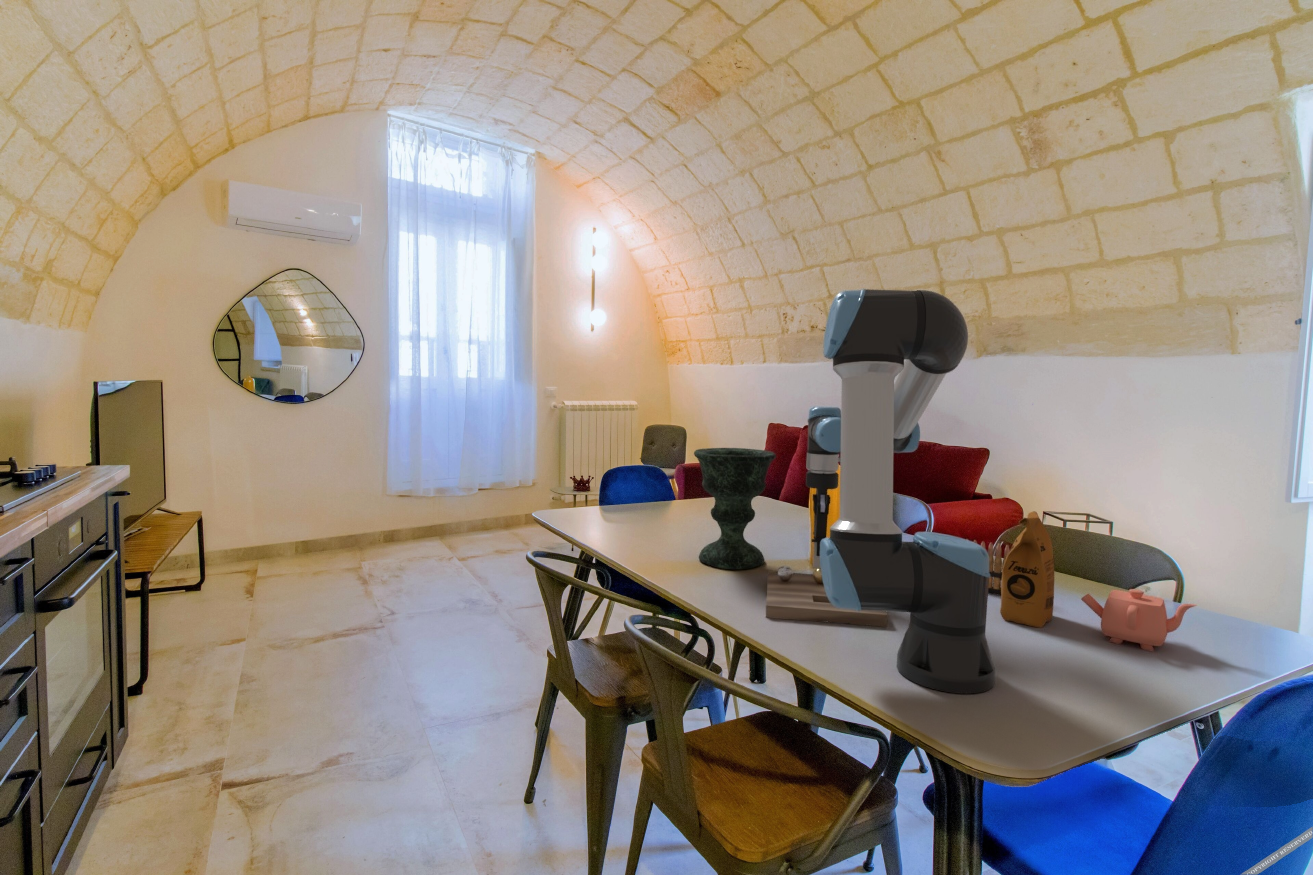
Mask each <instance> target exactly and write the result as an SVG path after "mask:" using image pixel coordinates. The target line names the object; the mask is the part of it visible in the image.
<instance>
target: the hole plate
mask: <svg viewBox="0 0 1313 875" xmlns="http://www.w3.org/2000/svg"><path fill="white" fill-rule="evenodd" d="M766 585H767V586H766V603H765V604H766V605H765V618H774V619H783V620H784V619H785V620H797V621H798V620H799V621H807V620H808V622H809V621H810V622H820V621H828V622H827V623H832V622H839V623H838V624H844V623H850V624H849V625H858V626H872V627H882V628H883V627H885V628H887V627H888V613H887V611H867V610H861V611H856V610H850V609H840V608H837V607H835V606H833V605H832V604H831V603H830V601H829V600H828V597H827V595H826V592H825V588H824V584H823V583H817V582H816V581H815V580H814V579H813V573H812V574H811V573H799V572H797V573H796V572H793V576H792V578H791V579H790V580H788V581H783V580H781V579H780V578H779V577H778V571H771V570H770V571H769V570H768V571H767V583H766Z"/></svg>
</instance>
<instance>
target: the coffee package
mask: <svg viewBox="0 0 1313 875" xmlns="http://www.w3.org/2000/svg"><path fill="white" fill-rule="evenodd" d="M1018 524H1019V525H1022V526H1025V528H1024V529H1023V530H1022V532H1021V533H1019V535H1018V536H1017V537H1016V538H1015V540H1014V542H1013V544H1012V546H1011V548H1009V550H1010V551H1009V553H1008V554H1007V557H1006V559H1005V562H1004V566H1003V572H1002V571H1001V572H1002V580H1001V595H1000V596H1001V597H1000V609H999V610H1000V611H999V612H1000V615H1001V618H1002V619H1003V620H1004V621H1007V622H1009V621H1011V622H1012V623H1013V622H1014V623H1015V624H1019V625H1020V624H1021V625H1026V626H1028V627H1034V628H1039V629H1041V628H1043V627H1044V625H1045V624H1046V622H1047V623H1048V622H1050V621H1052V618H1053V614H1054V602H1055V601H1054V600H1055V564H1054V550H1053V549H1054V548H1053V542H1052V538H1051V536H1050V534H1049V532H1048V530H1047V528H1046V527H1045V525H1044V523H1043V522H1042V520H1041V518H1040V516H1039V514H1038V513H1037V511H1030V512H1028V514H1027V517H1023V518H1022V519H1021V520H1018Z"/></svg>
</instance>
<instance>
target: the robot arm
mask: <svg viewBox="0 0 1313 875" xmlns="http://www.w3.org/2000/svg"><path fill="white" fill-rule="evenodd" d="M823 336H824V337H823V343H822V344H823V346H822V348H823V351H822V353H823V357H824V358H826V359H828V360H832V370H833V371H834V373H835V374H836V375H838V376H839V377H840V379H841V396H840V397H841V401H840V402H841V405H840V406H841V408H840V407H838V406H837V407H836V406H811V407H810V408H809V411H808V418H807V423H808V424H807V449H806V450H807V451H806V461H805V462H806V463H805V464H806V466H805V467H806V469H807V472H806V473H805V486H806V487H808V488H810V489H815V493H812V502H813V504H812V509H813V522H814V523H813V532H812V534H813V538H811V543H813V549H812V550H813V552H812V553H813V554H812V569H814V570H815V569H817V568H821V573H822V579H823V584H824V588H825V592H826V595H827V597H828V600H829V601H830V603H831V604H832V605H833V606H835V607H837V608H840V609H850V610H856V611H861V610H867V611H886V612H893V613H910V614H909V624H908V627H907V629H906V631H905V633H904V636H903V639H902V641H901V643H900V646H899V648H898V650H897V653H896V669H897V670H898V672H899V673H900V674H901V675H902V676H903V677H904V678H906V679H908V680H909V681H911V682H914V683H916V684H918V685H919V686H923V687H926V688H929V689H932V690H937V691H941V692H945V693H954V694H979V693H984V692H986V691H989V690H990V689H992V688H993V687H994V686H995V679H996V677H995V676H996V670H995V669H996V668H995V665H994V661H993V658H992V654H991V651H990V646H989V644H988V640H987V637H986V631H987V630H986V626H987V611H988V601H989V600H988V599H989V598H988V596H989V593H988V587H989V578H990V573H989V555H988V550H987V549H986V547H985V548H983V547H982V546H981V544H978V542H977V543H974V541H972V540H969V539H968V540H966V539H967V538H966V539H965V538H962V537H959V536H955V535H950V534H944V533H939V532H932V531H917V532H915V533H914V534H913V537H912V541H904V540H903V531H902V529H901V528H900V527H899V526H898V525H897V524H896V523H895V522H894V519H893V518H894V517H893V516H894V515H893V514H894V513H893V509H894V505H893V504H894V454H895V453H896V454H901V453H913V452H915V451H916V450H917V449H918V447H919V442H920V440H921V429H920V424H919V421H920V419H921V418H922V416H923V414H924V412H925V411H926V409H927V407H928V406H929V404H930V402H931V401H932V399H933V398H934V395H935V394H936V392H937V390H938V389H939V387H940V385H941V384H942V381H944V378H945V377H946V375H947V374H949V373H951V372H953V371H954V370H955V369H956V368H957V367H958V366H959V364H960V363H961V362H962V360H963V358H964V356H965V353H966V351H967V346H968V342H969V331H968V326H967V322H966V320H965V318H964V315H963V313H962V311H961V310H960V309H959V308H958V306H957V305H956V304H955V303H954V302H953V301H951V300H950V299H949V298H947V297H946V296H945V295H943V294H941V293H938V292H934V291H931V290H925V289H917V290H901V289H899V290H898V289H897V290H896V289H895V290H894V289H868V288H867V289H866V288H862V289H857V290H855V289H854V290H853V289H852V290H851V289H850V290H843V291H840V292H839V293H837V294H836V295H835V296H834V298H833V300H832V302H831V305H830V307H829V311H828V315H827V318H826V324H825V330H824V335H823ZM895 378H896V379H895ZM839 469H840V470H839ZM837 471H839V473H838V472H837ZM838 487H839V517H838V519H837V520H836V521H835V522H834V523H833V524H832V525H831V526H830V527H829V530H830V531H829V537H828V536H827V535H828V534H827V532H828V531H827V530H828V517H829V516H828V515H829V512H830V505H831V496H830V494H828V490H836V489H837V488H838Z"/></svg>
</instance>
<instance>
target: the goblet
mask: <svg viewBox="0 0 1313 875" xmlns="http://www.w3.org/2000/svg"><path fill="white" fill-rule="evenodd" d="M693 455H694V456H695V457H696V459H697V460H698V462H699V467H700V470H701V473H702V481H701V482H702V483H701V486H702V488H703V489H704V491H705V492H707V493H708V494H709V495H710V496H712V497H713V498H714V505H713V507H712V508H711V509H710V515H711V517H712V519H713V520H714V521H715V522H716V523H717V524H718V525H717V526H718V527H719V529H720V536H719V538H718V539H717V540H715V541H713V542H709V543H708V544H706V545H705V546H704V547H703V548H702V549H701V550H700V551H699V552H700V553H699V555H698V559H699V561H701V563H703V564H705V565H707V566H711V567H714V568H718V569H723V570H733V571H734V570H736V571H738V570H748V569H753V568H756V567H759V566H761V565H763V564H764V563H765V560H766V559H765V557H764V554H763V553H762V551H761V550H760V549H759V547H757V546H755V545H753V544H752V543H749V542H748V541H747V540H746V539H745V536H744V532H745V529H746V528H747V526H748V524H749V523H751V522H752V521H753V520H754V518H755V517H756V512H755V509H753V507H752V500H753V499H754V498H756V497H758V496H759V495H761V494H762V493H763V492H764V491H765V489H766V487H767V486H766V478H767V474H768V471H769V468H770V465H771V463H772V462H773V461H774V460H775V459H776V457H777V455H776V453H775V452H774V451H769V450H766V449H765V450H763V449H756V448H755V449H754V448H742V447H711V448H698V449H696V450H695V451H694V452H693Z"/></svg>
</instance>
